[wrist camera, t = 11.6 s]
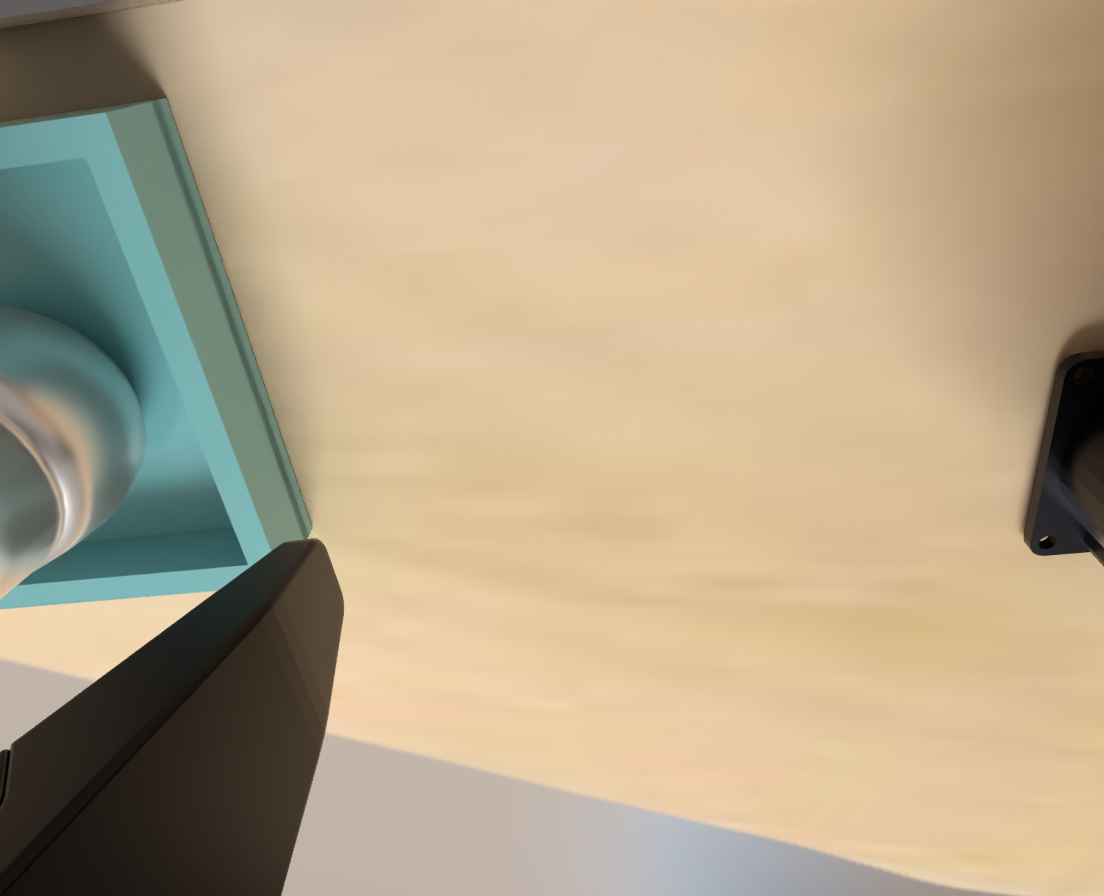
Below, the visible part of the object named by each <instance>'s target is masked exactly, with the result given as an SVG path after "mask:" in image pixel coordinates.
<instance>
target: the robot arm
mask: <svg viewBox="0 0 1104 896" xmlns="http://www.w3.org/2000/svg"><path fill="white" fill-rule="evenodd" d="M1085 367H1086V370H1085V372H1084V374H1082V375H1081V376H1080V377H1078V378H1075V379H1074V376H1075V374H1076V372H1077V371H1079V370H1080V369H1082V368H1085ZM1045 536H1048V538H1046V539H1045V540H1043V541H1040V540H1041V539H1042V538H1043V537H1045ZM1024 542H1025V543H1026V545H1027V546H1028V547H1029V548H1030V549H1031V551H1032V552H1033V553H1035V554H1037V555H1041V556H1048V555H1060V554H1072V553H1084V552H1091V553H1092V554H1093V555H1094V556H1095V557H1096V558H1097V560H1098V561H1099V562H1100V563H1101V564H1102V565H1103V566H1104V351H1094V352H1084V353H1078V354H1074V355H1071V356H1069V357H1068V358H1066V359H1065V360H1064V361H1063V362H1062V363H1061V364H1060V365H1059V367H1058V369H1057V372H1056V377H1055V382H1054V387H1053V392H1052V397H1051V402H1050V407H1049V412H1048V417H1047V422H1046V427H1045V432H1044V437H1043V442H1042V447H1041V452H1040V457H1039V462H1038V467H1037V472H1036V477H1035V482H1034V487H1033V492H1032V497H1031V502H1030V507H1029V512H1028V517H1027V522H1026V527H1025V532H1024ZM343 616H344V600H343V595H342V592H341V589H340V586H339V583H338V580H337V577H336V575H335V572H334V569H333V566H332V563H331V560H330V558H329V555H328V552H327V549H326V547H325V546H324V544H323V543H322V541H320V540H318V539H316V538H313V539H303V540H294V541H286V542H283V543H282V544H280V545H279V546H277V547H276V548H275V549H273V550H272V551H271V552H269V553H268V554H267V555H265V556H264V557H263V558H261V559H260V560H259V561H257V562H256V563H255V564H253V565H252V566H250V567H249V568H248V569H246V570H245V571H244V572H242V573H241V574H240V575H238V576H237V577H236V578H234V579H233V580H232V581H230V582H229V583H228V584H226V585H225V586H224V587H222V588H221V589H220V590H218V591H217V592H215V593H214V594H213V595H211V596H210V597H209V598H207V599H206V600H205V601H203V602H202V603H201V604H199V605H198V606H197V607H195V608H194V609H193V610H191V611H190V612H189V613H187V614H186V615H184V616H183V617H182V618H180V619H179V620H178V621H176V622H175V623H174V624H172V625H171V626H170V627H168V628H167V629H166V630H164V631H163V632H162V633H160V634H159V635H158V636H156V637H155V638H154V639H152V640H151V641H149V642H148V643H147V644H145V645H144V646H143V647H141V648H140V649H139V650H137V651H136V652H135V653H133V654H132V655H131V656H129V657H128V658H127V659H125V660H124V661H123V662H121V663H120V664H118V665H117V666H116V667H114V668H113V669H112V670H110V671H109V672H108V673H106V674H105V675H104V676H102V677H101V678H100V679H98V680H97V681H96V682H94V683H93V684H92V685H90V686H89V687H88V688H86V689H85V690H83V691H82V692H81V693H79V694H78V695H77V696H75V697H74V698H73V699H71V700H70V701H69V702H67V703H66V704H65V705H63V706H62V707H61V708H59V709H58V710H57V711H55V712H54V713H52V714H51V715H50V716H48V717H47V718H46V719H44V720H43V721H42V722H40V723H39V724H38V725H36V726H35V727H34V728H32V729H31V730H30V731H28V732H27V733H26V734H24V735H23V736H22V737H20V738H19V739H17V740H16V741H15V742H14V743H12V745H11V748H10V750H7V749H6V750H3V751H1V752H0V896H281V894H282V891H283V887H284V883H285V879H286V876H287V872H288V869H289V865H290V861H291V858H292V854H293V850H294V847H295V843H296V839H297V836H298V832H299V828H300V825H301V821H302V818H303V814H304V810H305V807H306V803H307V799H308V796H309V792H310V788H311V784H312V781H313V777H314V774H315V770H316V766H317V763H318V759H319V755H320V752H321V748H322V743H323V739H324V735H325V731H326V725H327V720H328V714H329V708H330V701H331V695H332V688H333V682H334V675H335V669H336V662H337V655H338V649H339V642H340V636H341V629H342V623H343Z"/></svg>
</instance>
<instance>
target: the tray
mask: <svg viewBox="0 0 1104 896" xmlns="http://www.w3.org/2000/svg"><path fill="white" fill-rule="evenodd" d="M0 305H5V306H11V307H16V308H21V309H24V310H27V311H30V312H33V313H36V314H39V315H42V316H45V317H47V318H50V319H53V320H56V321H59V322H61V323H63V324H65V325H67V326H69V327H70V328H72V329H74V330H76V331H78V332H80V333H81V334H83V335H84V336H86V337H87V338H88V339H90V340H91V341H93V342H94V343H95V344H97V345H98V346H99V347H100V348H101V349H102V350H103V351H104V352H105V353H107V354H108V355H109V356H110V357H111V358H112V359H113V360H114V361H115V363H116V364H117V365H118V366H119V368H120V369H121V370H122V372H123V373H124V374H125V376H126V377H127V379H128V380H129V382H130V384H131V386H132V388H133V390H134V392H135V394H136V396H137V400H138V403H139V406H140V409H141V413H142V416H143V420H144V423H145V432H146V449H145V455H144V461H143V463H142V465H141V467H140V470H139V472H138V474H137V476H136V478H135V479H134V481H133V483H132V485H131V487H130V488H129V490H128V492H127V494H126V496H125V497H124V499H123V501H122V503H121V504H120V506H119V508H118V509H117V510H116V511H115V512H114V513H113V514H112V516H111V517H110V518H109V519H108V520H107V521H106V522H105V523H104V524H102V525H101V526H100V527H98V528H97V529H96V530H94V531H93V532H92V533H91V534H89V535H88V536H87V537H85V538H84V539H83V540H82V541H80V542H79V543H78V544H76V545H75V546H74V547H72V548H71V549H69V550H68V551H66V552H65V553H63V554H61V555H60V556H58V557H57V558H55V559H54V560H52V561H50V562H49V563H47V564H46V565H44V566H42V567H41V568H39V569H38V570H36V571H34V572H32V573H31V574H30V575H29V576H27V577H26V578H25V579H24V580H23V581H22V582H20V583H19V584H18V585H17V586H16V587H14V588H13V589H12V590H11V591H10V592H9V593H7V594H6V595H5V596H4V597H3V598H2V599H0V609H9V608H21V607H32V606H44V605H56V604H67V603H79V602H90V601H102V600H114V599H125V598H137V597H149V596H160V595H172V594H184V593H195V592H207V591H218V590H220V589H221V588H222V587H224V586H225V585H226V584H228V583H229V582H230V581H232V580H233V579H234V578H236V577H237V576H238V575H240V574H241V573H242V572H244V571H245V570H246V569H248V568H249V567H250V566H252V565H253V564H255V563H256V562H257V561H259V560H260V559H261V558H263V557H264V556H265V555H267V554H268V553H269V552H271V551H272V550H273V549H275V548H276V547H277V546H279V545H280V544H282V543H283V542H286V541H294V540H303V539H307V538H308V536H309V534H310V532H311V530H312V525H311V522H310V519H309V516H308V513H307V510H306V507H305V504H304V501H303V498H302V495H301V492H300V489H299V486H298V483H297V480H296V477H295V475H294V472H293V469H292V466H291V463H290V460H289V457H288V454H287V451H286V448H285V445H284V442H283V439H282V436H281V433H280V430H279V427H278V424H277V421H276V419H275V416H274V413H273V410H272V407H271V404H270V401H269V398H268V395H267V392H266V389H265V386H264V383H263V380H262V377H261V374H260V371H259V368H258V366H257V363H256V360H255V357H254V354H253V351H252V348H251V345H250V342H249V339H248V336H247V333H246V330H245V327H244V324H243V321H242V318H241V315H240V312H239V310H238V307H237V304H236V301H235V298H234V295H233V292H232V289H231V286H230V283H229V280H228V277H227V274H226V271H225V268H224V265H223V262H222V259H221V256H220V254H219V251H218V248H217V245H216V242H215V239H214V236H213V233H212V230H211V227H210V224H209V221H208V218H207V215H206V212H205V209H204V206H203V203H202V200H201V198H200V195H199V192H198V189H197V186H196V183H195V180H194V177H193V174H192V171H191V168H190V165H189V162H188V159H187V156H186V153H185V150H184V147H183V144H182V142H181V139H180V136H179V133H178V130H177V127H176V124H175V121H174V118H173V115H172V112H171V109H170V106H169V103H168V100H167V98H163V99H156V100H149V101H142V102H135V103H128V104H121V105H114V106H108V107H101V108H94V109H87V110H80V111H73V112H66V113H59V114H52V115H45V116H38V117H32V118H25V119H18V120H11V121H4V122H0Z"/></svg>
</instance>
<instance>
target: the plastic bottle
mask: <svg viewBox="0 0 1104 896" xmlns="http://www.w3.org/2000/svg"><path fill="white" fill-rule="evenodd" d="M145 449H146V432H145V423H144V420H143V416H142V413H141V409H140V406H139V403H138V400H137V396H136V394H135V392H134V390H133V388H132V386H131V384H130V382H129V380H128V379H127V377H126V376H125V374H124V373H123V372H122V370H121V369H120V368H119V366H118V365H117V364H116V363H115V361H114V360H113V359H112V358H111V357H110V356H109V355H108V354H107V353H105V352H104V351H103V350H102V349H101V348H100V347H99V346H98V345H97V344H95V343H94V342H93V341H91V340H90V339H88V338H87V337H86V336H84V335H83V334H81V333H80V332H78V331H76V330H74V329H72V328H70V327H69V326H67V325H65V324H63V323H61V322H59V321H56V320H53V319H50V318H47V317H45V316H42V315H39V314H36V313H33V312H30V311H27V310H24V309H21V308H16V307H11V306H5V305H0V599H2V598H3V597H4V596H5V595H6V594H7V593H9V592H10V591H11V590H12V589H13V588H14V587H16V586H17V585H18V584H19V583H20V582H22V581H23V580H24V579H25V578H26V577H27V576H29V575H30V574H31V573H32V572H34V571H36V570H38V569H39V568H41V567H42V566H44V565H46V564H47V563H49V562H50V561H52V560H54V559H55V558H57V557H58V556H60V555H61V554H63V553H65V552H66V551H68V550H69V549H71V548H72V547H74V546H75V545H76V544H78V543H79V542H80V541H82V540H83V539H84V538H85V537H87V536H88V535H89V534H91V533H92V532H93V531H94V530H96V529H97V528H98V527H100V526H101V525H102V524H104V523H105V522H106V521H107V520H108V519H109V518H110V517H111V516H112V514H113V513H114V512H115V511H116V510H117V509H118V508H119V506H120V504H121V503H122V501H123V499H124V497H125V496H126V494H127V492H128V490H129V488H130V487H131V485H132V483H133V481H134V479H135V478H136V476H137V474H138V472H139V470H140V467H141V465H142V463H143V461H144V455H145Z"/></svg>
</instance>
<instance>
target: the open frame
mask: <svg viewBox="0 0 1104 896" xmlns="http://www.w3.org/2000/svg"><path fill="white" fill-rule="evenodd" d="M175 1H181V0H0V29H2V28H8V27H15V26H21V25H28V24H34V23H41V22H47V21H53V20H60V19H66V18H73V17H79V16H85V15H92V14H98V13H105V12H111V11H117V10H124V9H130V8H137V7H143V6H149V5H156V4H162V3H169V2H175Z"/></svg>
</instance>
